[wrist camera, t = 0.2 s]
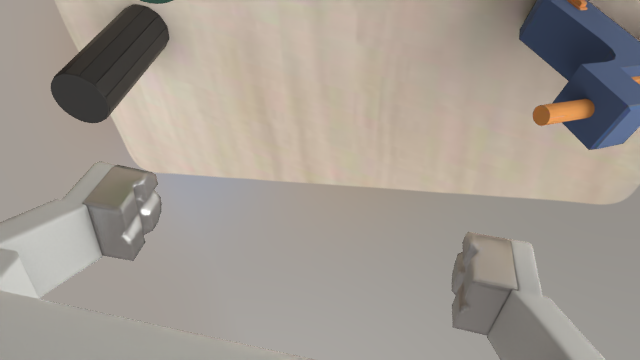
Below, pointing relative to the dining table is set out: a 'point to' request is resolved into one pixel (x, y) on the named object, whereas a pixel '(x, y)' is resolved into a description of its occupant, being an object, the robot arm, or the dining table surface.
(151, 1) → the flask
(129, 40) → the ribbed black grip post
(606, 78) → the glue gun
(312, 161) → the dining table surface
